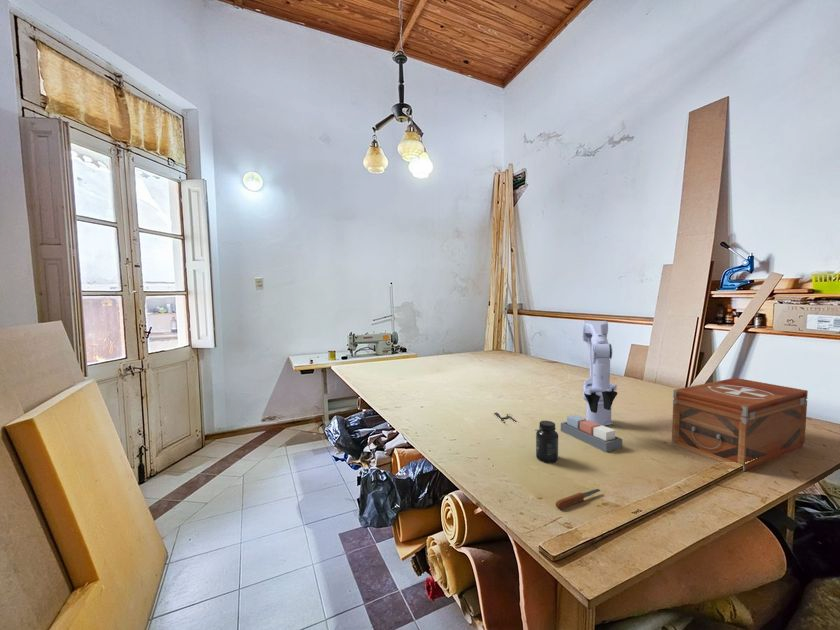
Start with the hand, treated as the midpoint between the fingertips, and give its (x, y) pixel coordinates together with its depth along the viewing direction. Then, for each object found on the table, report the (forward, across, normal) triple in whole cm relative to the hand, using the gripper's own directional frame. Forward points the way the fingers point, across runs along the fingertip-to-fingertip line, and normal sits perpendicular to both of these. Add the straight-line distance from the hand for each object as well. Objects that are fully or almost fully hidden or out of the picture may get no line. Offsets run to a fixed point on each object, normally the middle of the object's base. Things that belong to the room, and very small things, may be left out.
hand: (600, 410), depth 127 cm
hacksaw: (+11, -20, +24) cm, 33 cm away
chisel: (+10, -40, -26) cm, 49 cm away
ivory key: (+7, -6, -6) cm, 11 cm away
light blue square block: (+7, -6, +6) cm, 11 cm away
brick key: (+7, -6, 0) cm, 9 cm away
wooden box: (+10, +37, -25) cm, 46 cm away
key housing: (+10, -6, 0) cm, 11 cm away
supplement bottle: (+10, -31, -5) cm, 33 cm away
